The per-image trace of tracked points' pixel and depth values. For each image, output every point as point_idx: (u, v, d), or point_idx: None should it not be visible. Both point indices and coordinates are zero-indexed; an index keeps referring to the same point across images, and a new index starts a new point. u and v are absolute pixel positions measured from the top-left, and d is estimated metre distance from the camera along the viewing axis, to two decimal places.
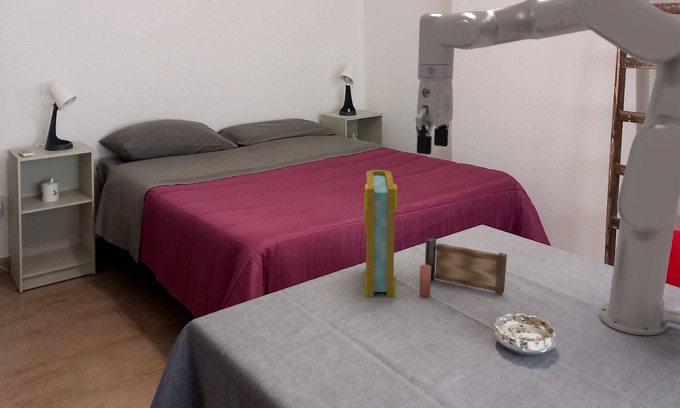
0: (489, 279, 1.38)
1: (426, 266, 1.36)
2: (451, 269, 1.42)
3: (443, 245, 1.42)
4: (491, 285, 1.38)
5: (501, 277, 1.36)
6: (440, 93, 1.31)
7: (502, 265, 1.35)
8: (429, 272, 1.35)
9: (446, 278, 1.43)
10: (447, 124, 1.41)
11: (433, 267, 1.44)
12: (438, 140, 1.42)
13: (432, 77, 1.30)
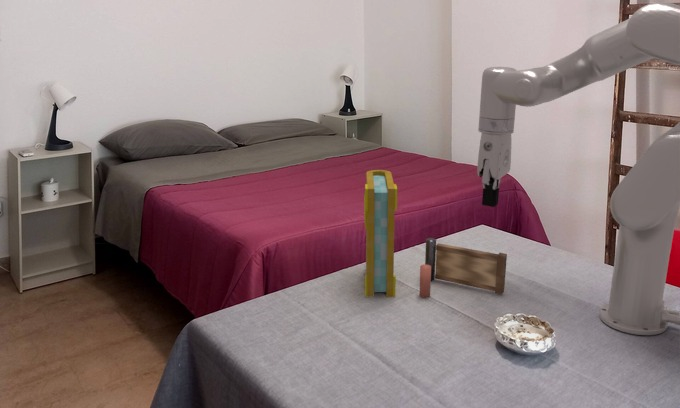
0: (489, 279, 1.38)
1: (426, 266, 1.36)
2: (451, 269, 1.42)
3: (443, 245, 1.42)
4: (491, 285, 1.38)
5: (501, 277, 1.36)
6: (502, 147, 1.32)
7: (502, 265, 1.35)
8: (429, 272, 1.35)
9: (446, 278, 1.43)
10: (499, 182, 1.39)
11: (433, 267, 1.44)
12: None
13: (494, 131, 1.31)
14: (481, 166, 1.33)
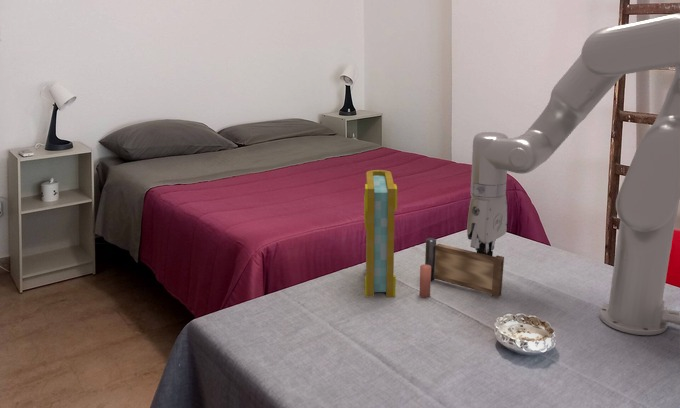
0: (486, 281, 1.37)
1: (426, 266, 1.36)
2: (450, 270, 1.42)
3: (442, 245, 1.42)
4: (488, 288, 1.37)
5: (497, 280, 1.34)
6: (490, 213, 1.32)
7: (498, 268, 1.34)
8: (429, 272, 1.35)
9: (445, 279, 1.43)
10: (493, 245, 1.39)
11: (433, 267, 1.44)
12: None
13: (482, 196, 1.32)
14: (470, 229, 1.35)
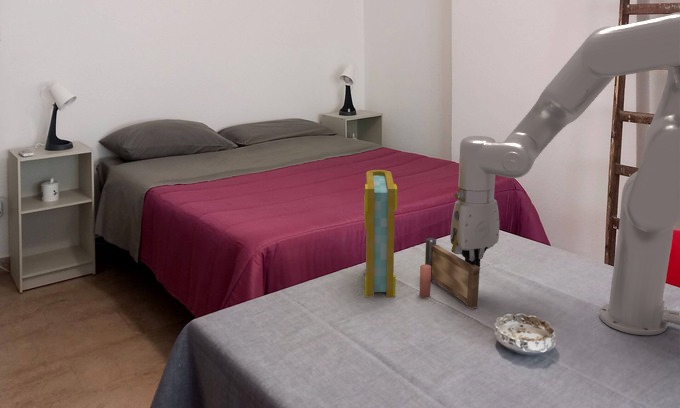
0: (464, 290, 1.33)
1: (426, 266, 1.36)
2: (441, 272, 1.40)
3: (438, 247, 1.41)
4: (465, 296, 1.32)
5: (471, 290, 1.30)
6: (470, 219, 1.28)
7: (471, 277, 1.29)
8: (429, 272, 1.35)
9: (437, 281, 1.42)
10: (481, 253, 1.34)
11: None
12: None
13: (464, 201, 1.29)
14: (452, 234, 1.32)
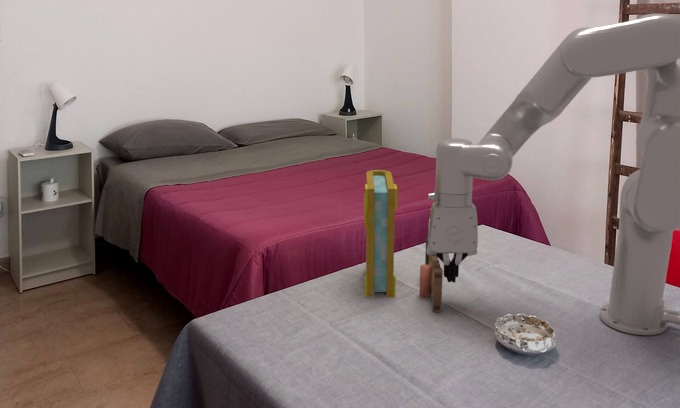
0: None
1: (426, 266, 1.36)
2: None
3: None
4: None
5: (433, 292, 1.29)
6: (438, 221, 1.27)
7: (434, 280, 1.28)
8: (429, 272, 1.35)
9: None
10: (458, 259, 1.31)
11: None
12: None
13: (436, 203, 1.28)
14: None
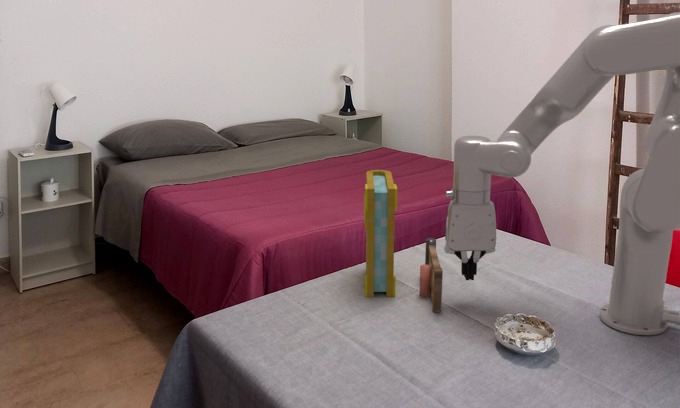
0: None
1: (426, 266, 1.36)
2: None
3: (431, 247, 1.41)
4: None
5: (433, 292, 1.29)
6: (457, 219, 1.26)
7: (434, 280, 1.28)
8: (429, 272, 1.35)
9: None
10: (476, 257, 1.30)
11: None
12: None
13: (454, 201, 1.27)
14: (445, 233, 1.31)
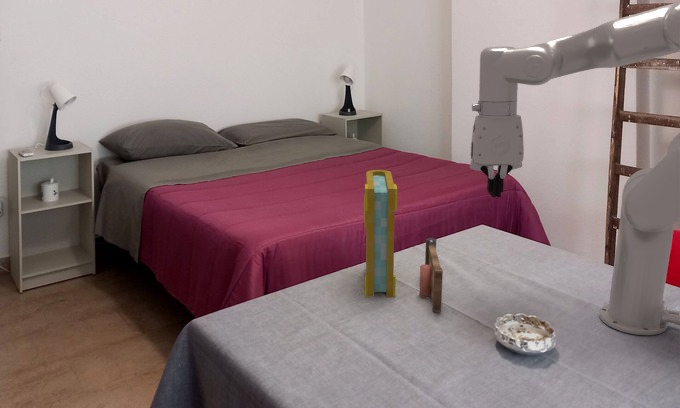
0: None
1: (426, 266, 1.36)
2: None
3: (431, 247, 1.41)
4: None
5: (433, 292, 1.29)
6: (484, 132, 1.24)
7: (434, 280, 1.28)
8: (429, 272, 1.35)
9: None
10: (503, 172, 1.28)
11: None
12: None
13: (480, 114, 1.25)
14: (471, 149, 1.29)
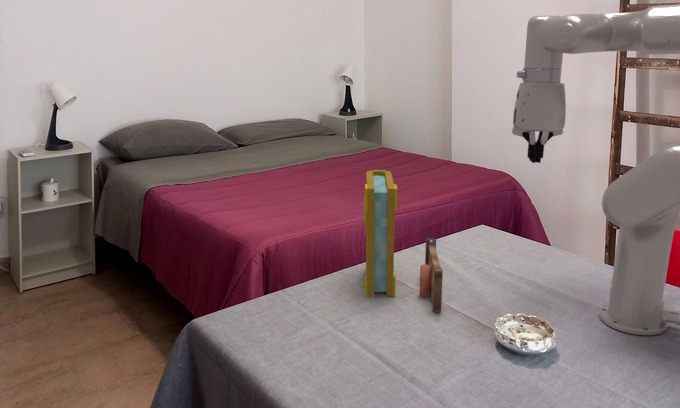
0: None
1: (426, 266, 1.36)
2: None
3: (431, 247, 1.41)
4: None
5: (433, 292, 1.29)
6: (528, 98, 1.29)
7: (434, 280, 1.28)
8: (429, 272, 1.35)
9: None
10: (544, 139, 1.33)
11: None
12: None
13: (525, 80, 1.30)
14: None
